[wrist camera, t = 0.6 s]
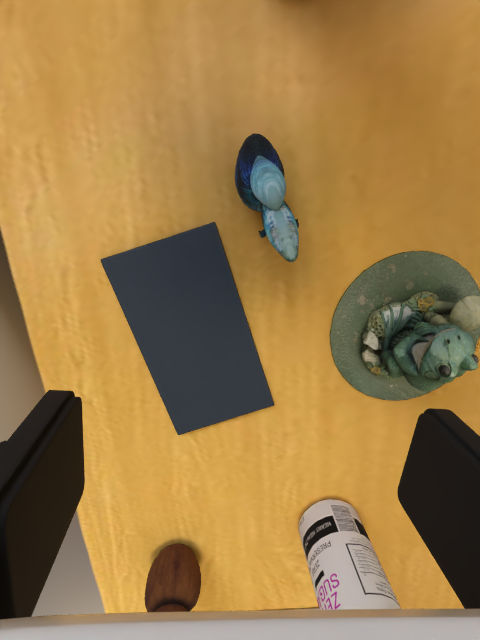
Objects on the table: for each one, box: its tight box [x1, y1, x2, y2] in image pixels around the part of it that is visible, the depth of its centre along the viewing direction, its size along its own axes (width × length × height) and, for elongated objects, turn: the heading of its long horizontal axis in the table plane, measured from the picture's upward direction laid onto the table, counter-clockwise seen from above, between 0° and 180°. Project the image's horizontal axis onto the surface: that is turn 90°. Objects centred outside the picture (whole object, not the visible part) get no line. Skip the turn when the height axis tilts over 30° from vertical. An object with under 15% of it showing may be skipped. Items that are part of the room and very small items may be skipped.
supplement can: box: [299, 499, 401, 610], centre depth 44 cm, size 8×8×15 cm
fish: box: [235, 134, 299, 262], centre depth 32 cm, size 4×10×10 cm, turn 17°
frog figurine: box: [330, 251, 480, 401], centre depth 37 cm, size 18×18×12 cm
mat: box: [101, 222, 274, 435], centre depth 41 cm, size 22×12×1 cm, turn 17°
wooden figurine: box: [145, 544, 201, 612], centre depth 44 cm, size 7×6×15 cm
